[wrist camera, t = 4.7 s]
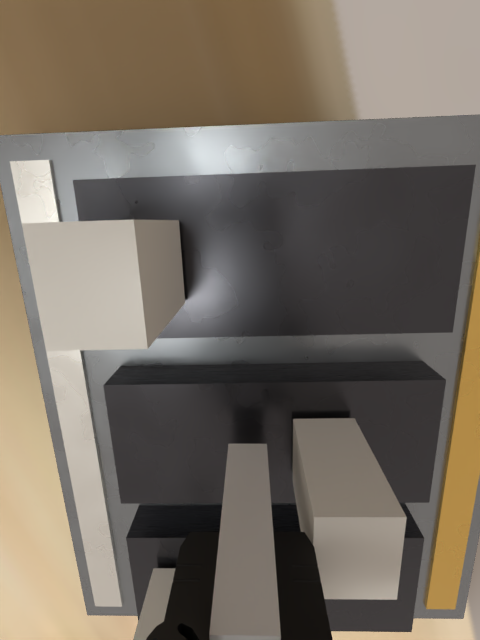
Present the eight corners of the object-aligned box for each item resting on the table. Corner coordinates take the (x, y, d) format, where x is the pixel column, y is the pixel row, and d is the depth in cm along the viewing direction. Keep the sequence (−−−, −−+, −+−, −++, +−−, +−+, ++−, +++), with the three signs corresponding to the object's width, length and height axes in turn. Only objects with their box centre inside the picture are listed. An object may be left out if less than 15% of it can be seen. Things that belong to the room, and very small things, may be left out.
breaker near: (109, 222, 13) (21, 222, 8) (179, 220, 12) (133, 219, 8) (119, 304, 13) (46, 351, 9) (185, 302, 13) (147, 349, 8)
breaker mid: (293, 418, 14) (314, 516, 10) (354, 418, 14) (406, 517, 10) (292, 480, 15) (311, 599, 10) (350, 479, 15) (396, 599, 10)
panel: (28, 148, 16) (-51, 122, 12) (512, 128, 16) (613, 92, 11) (104, 574, 23) (71, 654, 19) (440, 576, 23) (485, 660, 18)
